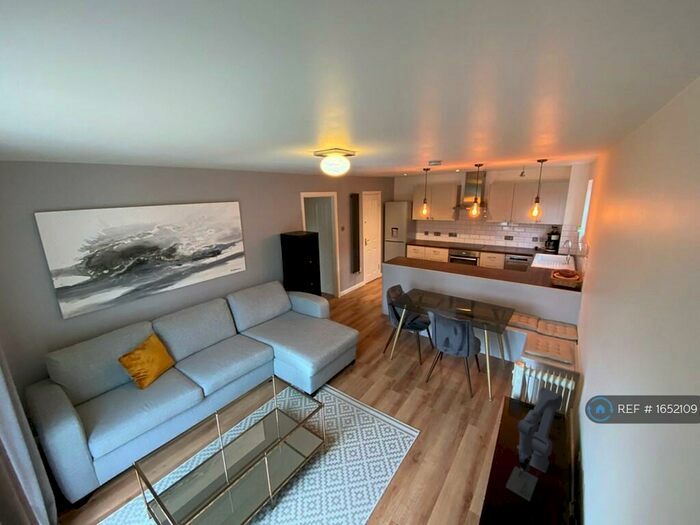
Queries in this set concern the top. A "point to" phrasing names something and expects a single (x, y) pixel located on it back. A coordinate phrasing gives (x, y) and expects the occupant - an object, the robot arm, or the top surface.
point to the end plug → (527, 466)
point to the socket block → (522, 483)
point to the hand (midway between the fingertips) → (524, 464)
